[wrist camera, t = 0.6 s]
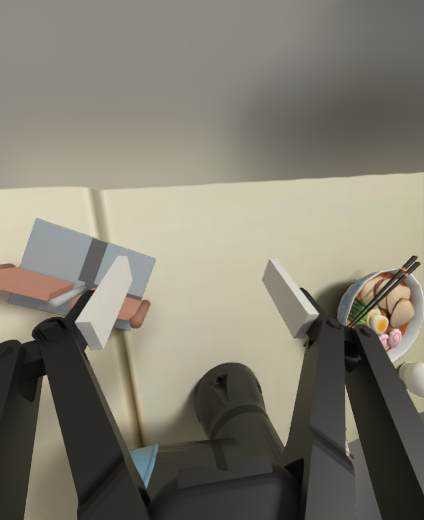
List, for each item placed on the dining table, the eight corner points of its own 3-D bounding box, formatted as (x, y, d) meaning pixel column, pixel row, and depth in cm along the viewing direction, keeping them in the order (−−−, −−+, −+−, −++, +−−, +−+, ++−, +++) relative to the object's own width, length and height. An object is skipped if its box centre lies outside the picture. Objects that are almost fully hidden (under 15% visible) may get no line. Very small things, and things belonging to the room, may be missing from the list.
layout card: (130, 329, 33) (129, 330, 33) (9, 301, 29) (7, 302, 28) (156, 258, 33) (156, 258, 32) (37, 218, 28) (36, 218, 28)
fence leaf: (71, 291, 30) (39, 306, 23) (1, 272, 27) (-59, 282, 20) (75, 281, 30) (44, 293, 23) (4, 262, 27) (-54, 268, 20)
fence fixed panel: (148, 309, 33) (139, 330, 26) (79, 291, 31) (46, 308, 23) (151, 301, 33) (143, 319, 26) (82, 282, 31) (50, 296, 23)
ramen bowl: (340, 367, 46) (374, 393, 38) (297, 307, 41) (327, 323, 33) (401, 305, 48) (445, 318, 40) (367, 243, 43) (411, 243, 35)
